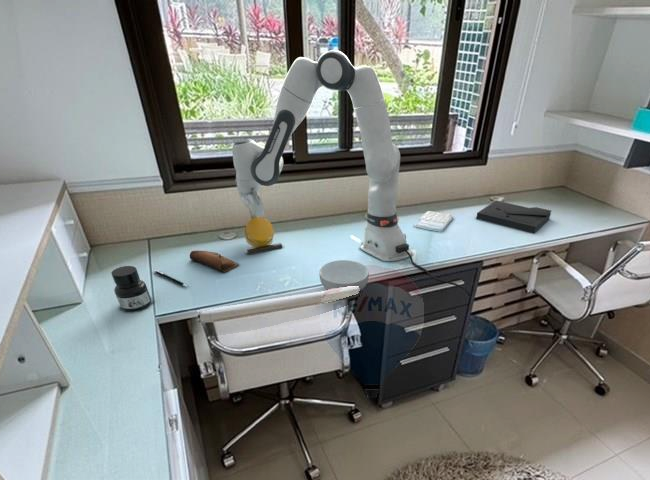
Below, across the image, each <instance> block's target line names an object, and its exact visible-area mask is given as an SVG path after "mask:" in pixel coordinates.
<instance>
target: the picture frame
mask: <svg viewBox="0 0 650 480" xmlns="http://www.w3.org/2000/svg"><path fill="white" fill-rule="evenodd" d="M551 215H552V210H551V209H547V208H542V207H537V206H535V207H534V206H533V207H527V206H523V205H518V204H513V203H509V202H504V201H500V200H494V201H493V202H492V203H490V204H488V205H487V206H485V207H484V208H482V209H481V210H479V211H477V213H476V218H475V219H476V220H479V221H484V222H487V223H491V224H495V225H498V226H504V227H507V228H511V229H514V230H520V231H523V232H527V233H531V234H535V233H536V232H537V231H538V230H539V229H541V227H542V226H543V225H544V224H545V223H547V222H548V220H550V219H551Z"/></svg>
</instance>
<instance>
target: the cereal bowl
mask: <svg viewBox="0 0 650 480" xmlns="http://www.w3.org/2000/svg"><path fill="white" fill-rule="evenodd" d="M318 275H319V281H320V283H321V286H323V287H324V289H325V290H327V289H331V288H339V287H347V286H359V288H360V291H362V290H363V289H365V287H366V286H367V284H368V283H369V277H370V270H369V268H368V266H366V265H365V264H363V263H361V262H358V261H355V260H348V259H347V260H345V259H342V260H341V259H340V260H334V261H333V260H332V261H329V262H327V263H325V264H324V265H322V266H321V268H319V272H318Z"/></svg>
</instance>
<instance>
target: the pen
mask: <svg viewBox="0 0 650 480" xmlns="http://www.w3.org/2000/svg"><path fill="white" fill-rule="evenodd" d="M153 272H154V273H155V274H158V275H160V276H162V277H163V278H166V279H168V280H170V281H172V282H174V283H176V284H178V285H181V286H182V287H188V285H187V284H186V283H184V282H182V281H180V280H178V279H176V278H174V277H172V276H169V275H167V274H165V273H164V272H162V271H159V270H157V269H153Z"/></svg>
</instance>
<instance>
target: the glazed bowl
mask: <svg viewBox="0 0 650 480" xmlns="http://www.w3.org/2000/svg"><path fill="white" fill-rule="evenodd" d="M274 236H275V233H274V226H273V225H272V223H271V222H270V221H269V220H268V219H266V218H263V217H260V216H258V217H257V218H253V219H251V218H250V219H249V220H248V221H247V223H246V225H245V228H244V233H243V237H244V240H245V242H246V244H248V245H250V246H251V247H252V248H258V247H263V246H268V245H272V244H273V241H274Z"/></svg>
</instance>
